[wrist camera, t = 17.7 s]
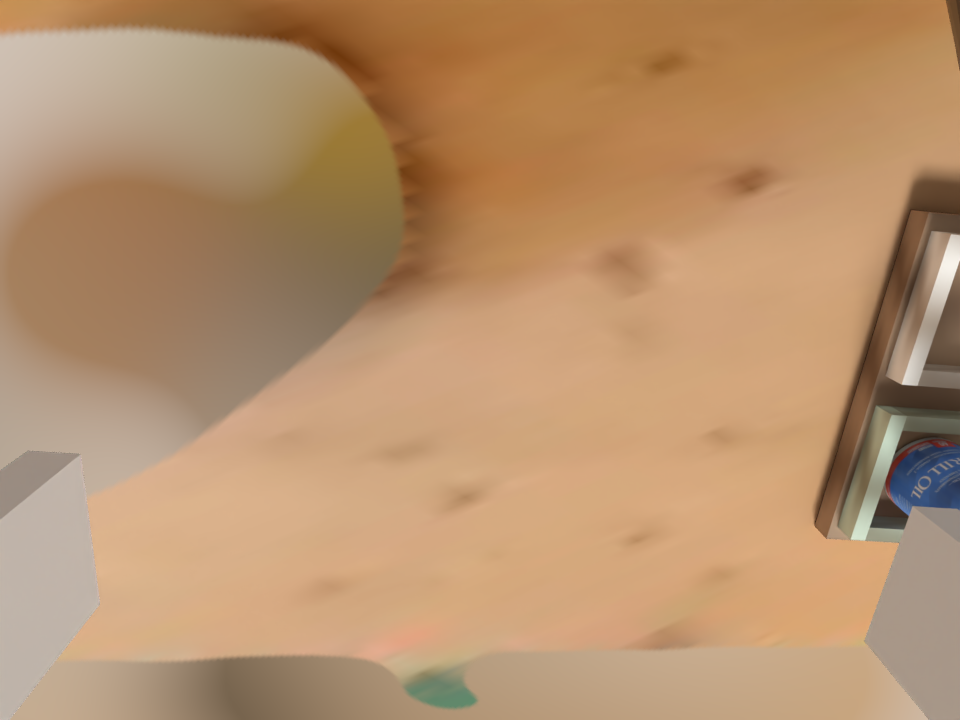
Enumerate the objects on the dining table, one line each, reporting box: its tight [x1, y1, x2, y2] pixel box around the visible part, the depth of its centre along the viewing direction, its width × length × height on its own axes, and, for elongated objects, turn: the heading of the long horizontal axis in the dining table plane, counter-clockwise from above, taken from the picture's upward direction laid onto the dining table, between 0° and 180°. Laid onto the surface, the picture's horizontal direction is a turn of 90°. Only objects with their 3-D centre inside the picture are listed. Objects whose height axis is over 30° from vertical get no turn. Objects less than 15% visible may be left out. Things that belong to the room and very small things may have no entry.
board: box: [815, 210, 960, 543], centre depth 40 cm, size 22×10×3 cm, turn 175°
